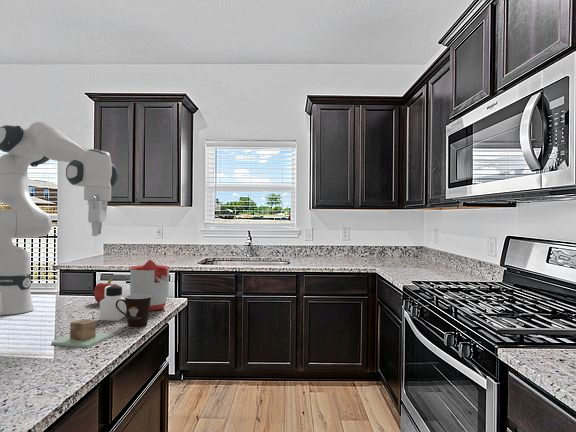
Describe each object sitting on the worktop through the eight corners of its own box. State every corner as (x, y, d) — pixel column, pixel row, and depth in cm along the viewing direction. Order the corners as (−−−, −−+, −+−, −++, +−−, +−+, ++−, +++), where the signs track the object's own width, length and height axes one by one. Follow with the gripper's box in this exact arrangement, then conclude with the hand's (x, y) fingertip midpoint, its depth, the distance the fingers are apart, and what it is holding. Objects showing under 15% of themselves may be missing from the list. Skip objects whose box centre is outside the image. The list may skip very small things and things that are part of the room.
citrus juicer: (147, 315, 173) (148, 263, 172) (121, 308, 183) (122, 259, 183) (179, 309, 185) (180, 260, 185) (153, 303, 196) (154, 256, 195)
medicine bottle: (125, 316, 170) (126, 284, 170) (119, 320, 163) (119, 287, 163) (106, 316, 170) (107, 284, 170) (99, 320, 163) (99, 287, 163)
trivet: (51, 344, 133) (51, 341, 133) (77, 334, 145) (77, 331, 145) (88, 347, 131) (88, 345, 131) (111, 336, 143) (111, 334, 142)
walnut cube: (70, 338, 136) (70, 322, 136) (83, 334, 141) (83, 318, 141) (82, 340, 134) (83, 324, 134) (95, 336, 139) (95, 320, 139)
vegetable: (99, 300, 198) (100, 277, 198) (123, 300, 199) (124, 278, 199) (90, 305, 187) (90, 281, 187) (115, 305, 188) (116, 281, 188)
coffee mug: (155, 324, 159) (156, 296, 159) (136, 329, 152) (136, 299, 152) (132, 319, 165) (133, 292, 165) (113, 324, 158) (113, 295, 158)
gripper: (104, 195, 149) (103, 237, 150) (109, 196, 169) (108, 233, 169) (83, 194, 148) (82, 236, 148) (91, 196, 167) (90, 233, 167)
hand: (96, 235), depth 159 cm, fingers open, 8 cm apart
